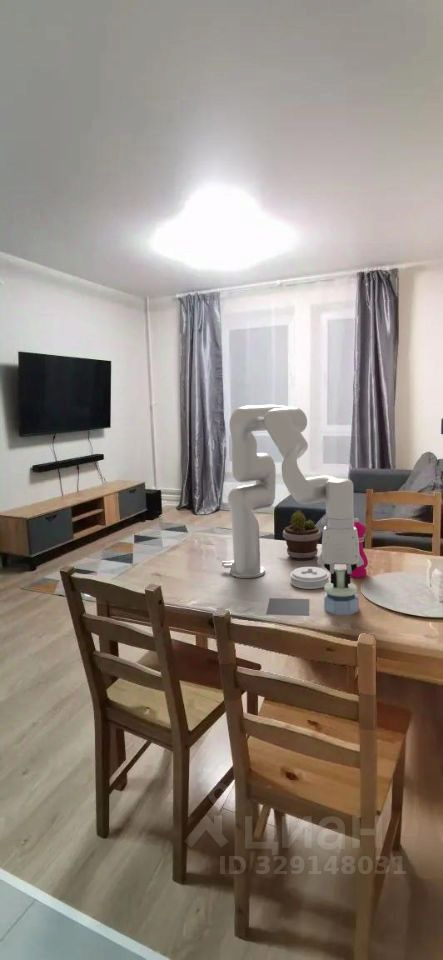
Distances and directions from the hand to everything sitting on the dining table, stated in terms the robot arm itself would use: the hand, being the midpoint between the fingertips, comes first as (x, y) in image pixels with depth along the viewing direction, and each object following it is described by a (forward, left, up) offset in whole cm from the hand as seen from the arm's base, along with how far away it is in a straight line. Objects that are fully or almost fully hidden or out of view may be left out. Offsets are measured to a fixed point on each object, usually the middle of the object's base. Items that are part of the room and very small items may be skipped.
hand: (340, 585), depth 139 cm
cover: (0, 0, -2) cm, 2 cm away
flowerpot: (-12, +50, -7) cm, 52 cm away
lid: (-9, +20, -8) cm, 23 cm away
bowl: (0, 0, -7) cm, 7 cm away
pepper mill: (+7, +30, -7) cm, 32 cm away
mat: (-15, 0, -7) cm, 16 cm away
